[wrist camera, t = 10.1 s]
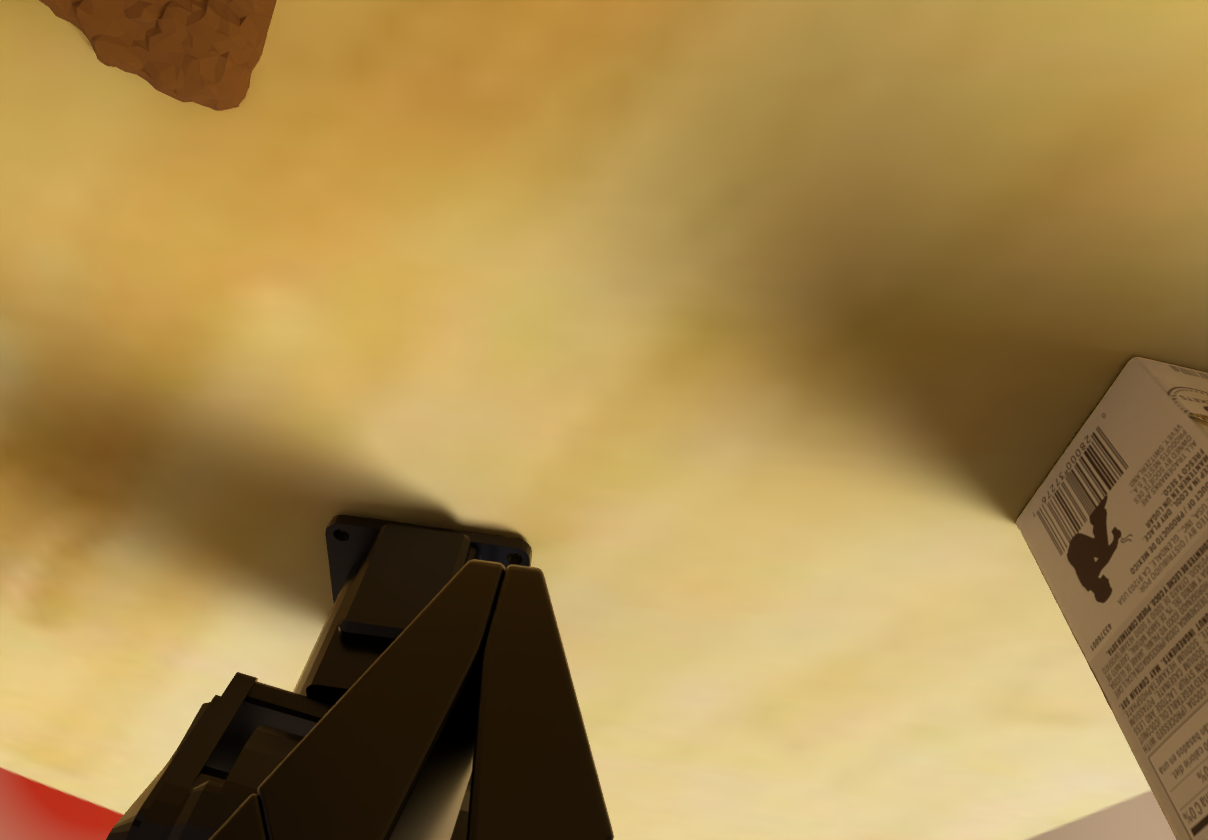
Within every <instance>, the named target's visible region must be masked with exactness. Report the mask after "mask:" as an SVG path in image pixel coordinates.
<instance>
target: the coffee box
mask: <svg viewBox="0 0 1208 840" xmlns="http://www.w3.org/2000/svg"><path fill="white" fill-rule="evenodd" d="M1016 524H1017V526H1018V528H1019V530H1020V531H1021V533H1022V535H1023V537H1024V539H1025V541H1026V543H1027V545H1028V547H1029V549H1030V551H1031V553H1032V555H1033V556H1034V558H1035V560H1036V562H1037V564H1038V566H1039V568H1040V570H1041V573H1042V575H1043V576H1044V578H1045V580H1046V582H1047V584H1048V586H1049V588H1050V590H1051V592H1052V594H1053V596H1054V598H1055V600H1056V602H1057V604H1058V606H1059V608H1060V610H1061V612H1062V613H1063V615H1064V617H1065V619H1066V621H1067V623H1068V625H1069V627H1070V629H1071V631H1072V633H1073V635H1074V637H1075V639H1076V641H1077V643H1078V645H1079V647H1080V649H1081V651H1082V653H1083V654H1084V656H1085V658H1086V660H1087V663H1088V665H1089V667H1090V669H1091V671H1092V672H1093V674H1094V676H1095V678H1096V680H1097V682H1098V684H1099V686H1100V688H1101V690H1102V692H1103V694H1104V696H1105V698H1106V700H1107V703H1108V705H1109V706H1110V708H1111V710H1112V712H1113V714H1114V716H1115V718H1116V720H1117V722H1118V724H1119V726H1120V728H1121V730H1122V732H1123V734H1124V736H1125V738H1126V740H1127V742H1128V744H1129V746H1130V748H1131V750H1132V752H1133V754H1134V756H1135V758H1136V760H1137V762H1138V764H1139V766H1140V768H1141V770H1142V772H1143V774H1144V776H1145V778H1146V780H1147V782H1148V784H1149V786H1150V788H1151V790H1152V792H1153V794H1154V796H1155V798H1156V800H1157V802H1158V804H1159V805H1160V808H1161V810H1162V811H1163V814H1164V815H1165V817H1166V819H1167V821H1168V823H1169V825H1170V827H1171V829H1172V831H1173V833H1174V835H1175V837H1176V839H1177V840H1208V373H1207V372H1203V371H1199V370H1194V369H1190V368H1186V367H1181V366H1177V365H1173V364H1168V363H1164V362H1160V361H1155V360H1151V359H1146V358H1142V357H1133V358H1132V359H1131V360H1129V361H1128V363H1127V364H1126V366H1125V367H1124V368H1123V370H1122V371H1121V373H1120V374H1119V376H1118V377H1117V378H1116V380H1115V381H1114V383H1113V384H1112V386H1111V387H1110V388H1109V390H1108V391H1107V393H1106V394H1105V396H1104V397H1103V398H1102V400H1101V401H1100V403H1099V404H1098V405H1097V407H1096V408H1095V410H1094V411H1093V413H1092V414H1091V415H1090V417H1089V418H1088V420H1087V421H1086V422H1085V424H1084V425H1083V427H1082V428H1081V429H1080V431H1079V432H1078V434H1077V435H1076V436H1075V438H1074V439H1073V441H1072V442H1071V443H1070V445H1069V446H1068V448H1067V449H1066V450H1065V452H1064V453H1063V455H1062V456H1061V458H1060V459H1059V460H1058V462H1057V463H1056V465H1055V466H1054V467H1053V469H1052V470H1051V472H1050V473H1049V475H1048V476H1047V478H1046V479H1045V481H1044V482H1043V483H1042V485H1041V486H1040V487H1039V489H1038V490H1037V491H1036V493H1035V494H1034V496H1033V497H1032V499H1031V500H1030V502H1029V503H1028V505H1027V506H1026V507H1025V509H1024V510H1023V512H1022V513H1021V515H1020V516H1019V517H1018V519H1017V521H1016Z"/></svg>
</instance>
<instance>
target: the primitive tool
mask: <svg viewBox="0 0 1208 840" xmlns="http://www.w3.org/2000/svg"><path fill="white" fill-rule="evenodd" d="M39 1H41V2H42V3H44V4H45V5H47V6H48V7H50V8H51V10H52V11H53V13H54V14H55V15H56V16H57V17H60V18H62V19H64V20H66V21H69V22H71V23H72V24H73V25H75V26H76V27H77V28H79V29H80V30H81V31H82V32H83V33H84V34H85V35H86V37H87V38H88V39H89V40H90V42H91V44H92V47H93V49H94V51H95V53H96V56H97V59H98V60H99V61H100V62H102V63H103V64H105V65H107V66H113V67H117V68H119V69H121V70H123V71H126V72H130V73H134V74H137V75H139V76H140V77H142V78H143V79H145V80H146V81H148V82H149V83H150V84H151V85H152V86H153V87H154V88H155V89H156V90H158V91H160V92H162V93H165V94H167V95H169V96H171V97H173V98H175V99H177V100H179V101H182V102H195V103H198V104H200V105H203V106H206V107H209V108H212V109H214V110H217V111H219V110H226V109H231V108H234V107H238V106H239V104H240V102H241V101H242V100H243V99H244V98H245V96H246V93H247V90H248V88H249V84H250V76H251V72H252V70H253V69H254V67H255V66H256V64H257V62H258V61H259V59H260V56H261V55H262V51H263V47H264V44H265V40H266V36H267V32H268V28H269V25H270V21H271V18H272V15H273V11H274V7H275V3H276V0H39Z"/></svg>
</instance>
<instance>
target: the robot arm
mask: <svg viewBox="0 0 1208 840" xmlns="http://www.w3.org/2000/svg"><path fill="white" fill-rule="evenodd" d="M340 529H341V530H344V531H346V532H347V533H346V532H343V531H341V530H340ZM326 541H327V550H328V558H329V566H330V575H331V583H332V592H333V600H334V605H333V607H332V610H331V612H330V614H329V616H328V618H327V620H326V622H325V625H324V627H323V629H322V631H321V633H320V635H319V638H318V640H317V642H316V644H315V646H314V648H313V650H312V653H311V655H310V657H309V659H308V661H307V663H306V665H305V668H304V670H303V672H302V674H301V676H300V678H299V681H298V683H297V685H296V687H295V689H294V691H293V692H290V691H286V690H283V689H280V688H276V687H273V686H270V685H266V684H263V683H260V682H257V679H258V678H256V677H252V676H249V675H246V674H242V673H239V672H237V673H236V675H235V676H234V678H233V679H232V681H231V682H230V684H229V685H228V687H227V688H226V690H225V691H224V693H223V694H222V696H218V695H215V697H214V698H213V699H212V701H211V702H209V703H204V704H203V705H202V706H201V708H200V710H199V712H198V713H197V715H196V717H195V719H194V720H193V722H192V724H191V726H190V727H189V729H188V731H187V733H186V735H185V736H184V738H183V740H182V741H181V743H180V745H179V746H178V748H177V750H176V751H175V753H174V754H173V756H172V757H171V759H170V760H169V762H168V763H167V764H166V766H165V767H164V768H163V770H162V771H161V772H160V773H159V774H158V775H157V777H156V778H155V779H154V780H153V781H152V782H151V784H150V785H149V786H148V787H147V788H146V789H145V791H144V792H143V793H142V794H141V795H140V796H139V798H138V799H137V800H136V801H135V802H134V804H133V805H132V806H131V807H130V808H129V809H128V811H127V812H126V813H125V814H124V815H123V816H122V818H121V819H120V820H119V821H118V822H117V824H116V825H115V826H114V827H113V829H112V830H111V832H110V833H109V835H108V837H107V839H106V840H613V838H614V835H613V831H612V827H611V823H610V819H609V816H608V812H607V808H606V805H605V801H604V797H603V793H602V790H601V786H600V782H599V778H598V775H597V771H596V767H595V764H594V760H593V756H592V752H591V749H590V745H589V741H588V737H587V734H586V730H585V726H584V723H583V719H582V715H581V711H580V708H579V704H578V700H577V697H576V693H575V689H574V685H573V682H572V678H571V674H570V670H569V667H568V663H567V659H566V656H565V652H564V648H563V644H562V641H561V637H560V633H559V629H558V626H557V622H556V618H555V615H554V611H553V607H552V603H551V600H550V596H549V592H548V588H547V585H546V581H545V577H544V574H543V572H542V571H541V569H539V568H535V567H531V558H532V549H531V547H530V545H529V544H528V543H526V542H525V541H523V540H520V539H515V538H508V537H501V536H493V535H486V534H479V533H472V532H464V531H457V530H450V529H442V528H435V527H428V526H421V525H413V524H406V523H399V522H391V521H384V520H377V519H370V518H362V517H355V516H348V515H338V516H335V517H333V518H332V519H331V521H330V523H329V525H328V526H327V528H326ZM511 553H516V554H519V555H520V556H515V555H512V554H511Z"/></svg>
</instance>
